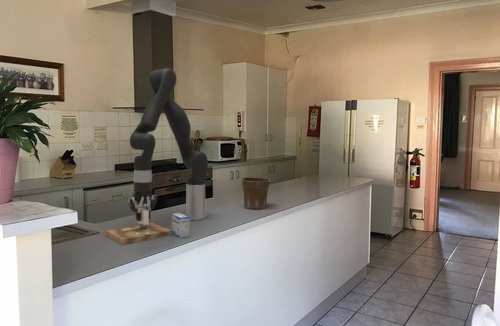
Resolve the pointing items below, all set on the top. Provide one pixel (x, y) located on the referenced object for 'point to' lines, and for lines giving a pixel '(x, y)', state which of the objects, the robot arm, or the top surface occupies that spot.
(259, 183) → the plant pot
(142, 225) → the toy mallet
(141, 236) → the brown flat wooden board
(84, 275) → the top surface
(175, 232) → the medicine box
